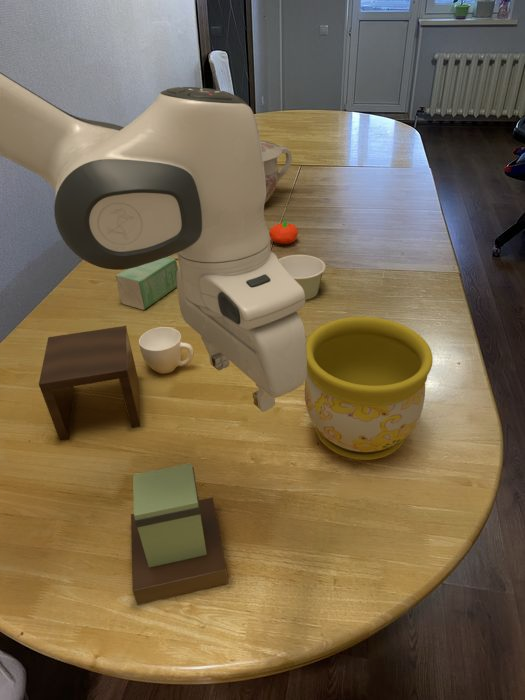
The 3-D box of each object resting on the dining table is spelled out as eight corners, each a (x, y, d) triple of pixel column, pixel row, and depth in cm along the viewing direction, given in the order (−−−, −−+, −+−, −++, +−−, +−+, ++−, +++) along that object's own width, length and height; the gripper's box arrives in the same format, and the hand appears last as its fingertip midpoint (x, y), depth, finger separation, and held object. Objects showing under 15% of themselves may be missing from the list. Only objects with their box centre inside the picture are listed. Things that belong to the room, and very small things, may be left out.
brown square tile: (228, 583, 63) (226, 569, 61) (137, 605, 61) (132, 591, 60) (215, 510, 72) (213, 496, 70) (134, 527, 70) (130, 513, 68)
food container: (267, 300, 119) (266, 274, 115) (281, 276, 128) (280, 252, 124) (318, 306, 115) (319, 280, 112) (329, 281, 125) (330, 256, 121)
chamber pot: (186, 214, 164) (178, 147, 152) (219, 187, 185) (214, 125, 173) (270, 222, 157) (268, 151, 145) (294, 192, 178) (294, 128, 166)
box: (181, 284, 126) (176, 256, 122) (145, 311, 117) (139, 281, 112) (157, 279, 129) (152, 251, 125) (120, 304, 120) (113, 275, 116)
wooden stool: (140, 426, 86) (126, 369, 79) (59, 441, 84) (38, 384, 77) (138, 379, 97) (126, 325, 90) (66, 391, 94) (48, 337, 87)
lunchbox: (207, 555, 63) (198, 503, 57) (148, 568, 62) (132, 516, 56) (201, 514, 68) (192, 461, 62) (146, 525, 67) (131, 473, 61)
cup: (153, 353, 103) (147, 325, 99) (201, 357, 101) (197, 329, 97) (138, 378, 97) (132, 348, 93) (189, 382, 95) (185, 352, 91)
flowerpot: (438, 430, 83) (457, 347, 73) (371, 495, 73) (383, 409, 63) (349, 381, 94) (355, 303, 84) (280, 433, 84) (278, 351, 74)
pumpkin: (269, 237, 147) (269, 216, 144) (297, 237, 147) (297, 215, 143) (269, 248, 142) (268, 226, 138) (298, 247, 141) (298, 225, 137)
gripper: (154, 250, 56) (175, 355, 64) (255, 322, 42) (268, 447, 49) (205, 235, 59) (220, 337, 67) (317, 297, 44) (320, 420, 52)
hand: (241, 385), depth 58 cm, fingers open, 8 cm apart
